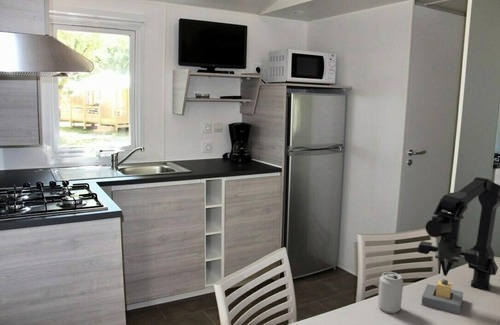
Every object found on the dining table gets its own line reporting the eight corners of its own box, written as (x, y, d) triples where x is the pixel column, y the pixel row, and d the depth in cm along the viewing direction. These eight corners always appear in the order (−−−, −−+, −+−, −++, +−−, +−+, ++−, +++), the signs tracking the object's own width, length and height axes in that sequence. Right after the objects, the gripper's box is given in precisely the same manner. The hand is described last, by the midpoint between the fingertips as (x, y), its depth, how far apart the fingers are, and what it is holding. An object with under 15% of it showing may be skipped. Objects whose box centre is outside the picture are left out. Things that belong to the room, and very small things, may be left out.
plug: (436, 298, 158) (438, 277, 157) (449, 301, 156) (452, 280, 154) (434, 303, 154) (437, 281, 153) (448, 306, 152) (450, 284, 151)
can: (402, 315, 145) (405, 281, 143) (378, 312, 146) (381, 278, 144) (399, 304, 152) (402, 271, 150) (376, 302, 154) (379, 269, 152)
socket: (426, 291, 163) (427, 283, 162) (462, 299, 157) (463, 292, 157) (421, 304, 153) (422, 296, 152) (459, 314, 147) (460, 305, 146)
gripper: (417, 233, 148) (412, 277, 151) (479, 244, 139) (473, 290, 142) (422, 225, 158) (418, 266, 160) (481, 234, 149) (475, 278, 151)
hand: (445, 275), depth 153 cm, fingers closed
